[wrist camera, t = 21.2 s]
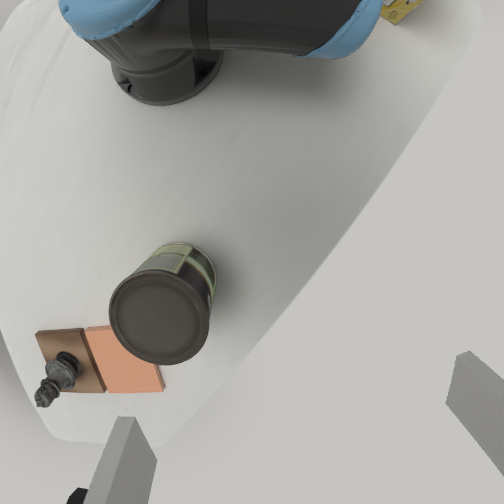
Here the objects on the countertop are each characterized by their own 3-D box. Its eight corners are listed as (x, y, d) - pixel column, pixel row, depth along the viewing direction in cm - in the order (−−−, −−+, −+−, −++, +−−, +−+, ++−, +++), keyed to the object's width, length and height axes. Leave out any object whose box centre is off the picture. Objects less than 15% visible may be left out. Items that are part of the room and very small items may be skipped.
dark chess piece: (83, 357, 43) (52, 401, 32) (83, 383, 45) (55, 427, 33) (54, 344, 43) (18, 383, 31) (54, 370, 44) (23, 411, 32)
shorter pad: (38, 330, 44) (34, 334, 42) (83, 327, 44) (79, 332, 42) (63, 387, 47) (60, 391, 45) (107, 388, 47) (104, 393, 45)
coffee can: (229, 260, 43) (226, 299, 29) (199, 322, 45) (186, 380, 31) (160, 228, 41) (125, 253, 27) (134, 293, 43) (98, 339, 29)
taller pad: (88, 327, 44) (84, 331, 42) (143, 322, 44) (141, 326, 43) (111, 388, 47) (109, 393, 45) (164, 386, 47) (162, 391, 45)
